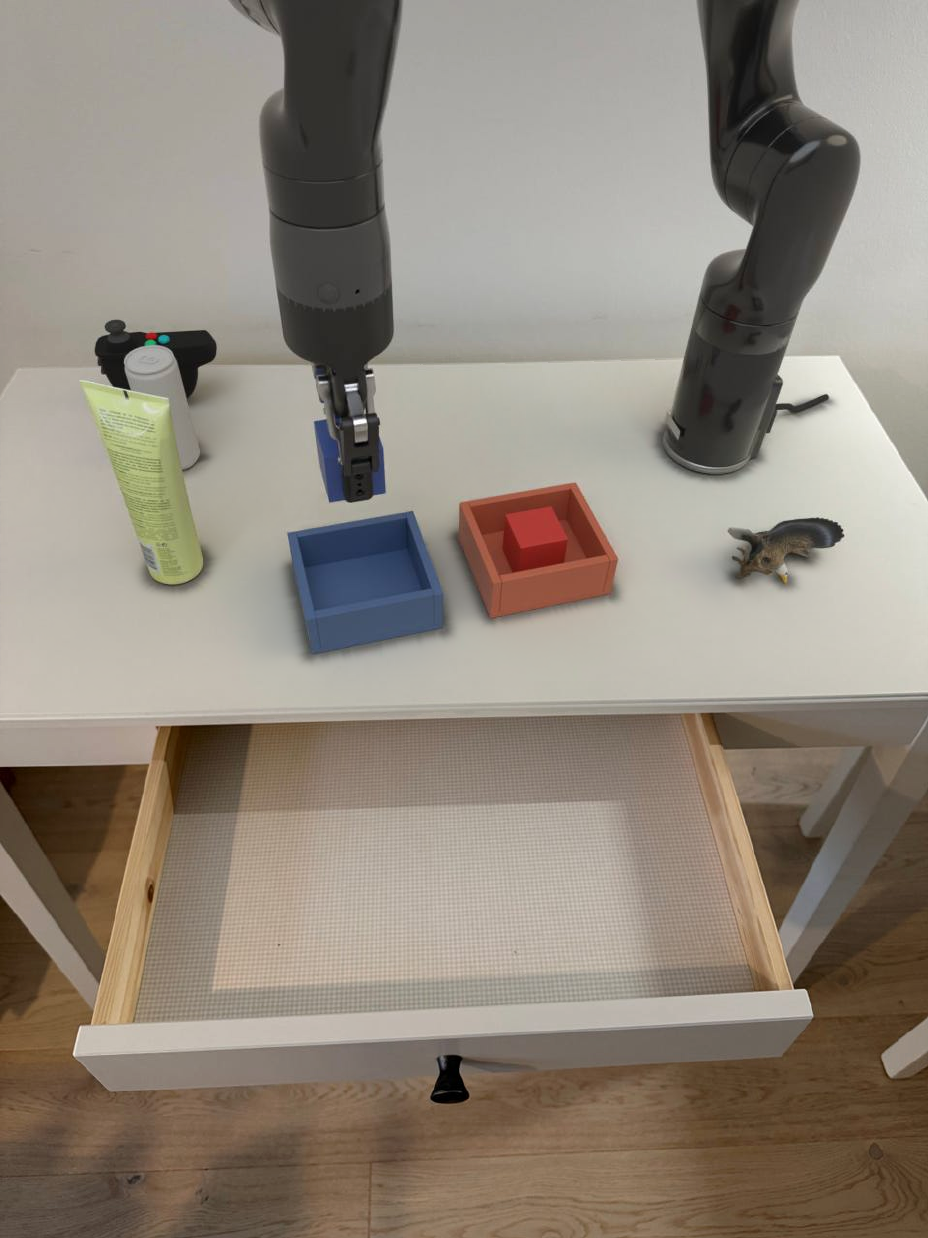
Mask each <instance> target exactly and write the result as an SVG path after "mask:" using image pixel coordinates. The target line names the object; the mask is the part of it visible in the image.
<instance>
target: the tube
mask: <svg viewBox="0 0 928 1238" xmlns="http://www.w3.org/2000/svg"><path fill="white" fill-rule="evenodd" d="M79 384H80V386H81V389H82V392H83V394H84V397H85V399H86V402H87V404H88V407H89V409H90V412H91V415H92V417H93V419H94V423H95V425H96V429H97V430H98V432H99V433H98V434H99V435H100V439H101V441H102V444H103V446H104V448H105V452H106V454H107V457H108V460H109V462H110V465H111V467H112V471H113V474H114V475H115V478H116V481H117V484H118V487H119V490H120V492H121V495H122V498H123V500H124V503H125V507H126V509H127V511H128V514H129V518H130V521H131V524H132V526H133V529H134V532H135V534H136V537H137V541H138V543H139V545H140V546H139V547H140V549H141V553H142V555H143V559H144V561H145V563H146V567H147V569H148V572H149V574H150V576H151V578H152V579H154V580H155V581H156V582H159V583H161V584H166V585H181V584H184V583H187V582H190V581H191V580H193V579H195V578H196V577H197V576H198V575H199V574H200V573H201V571H202V569H203V567H204V557H203V553H202V549H201V544H200V541H199V536H198V532H197V529H196V524H195V521H194V515H193V512H192V508H191V503H190V500H189V494H188V491H187V485H186V482H185V481H186V480H185V476H184V473H183V470H182V467H181V463H180V458H179V453H178V448H177V443H176V438H175V433H174V428H173V422H172V415H171V406H170V401H169V398H165V397H160V396H154V395H149V394H145V393H140V392H135V391H130V390H125V389H121V388H116V387H113V386H112V385H107V384H102V383H97V382H95V381H94V382H93V381H89V380H85V379H79Z"/></svg>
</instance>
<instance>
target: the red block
mask: <svg viewBox="0 0 928 1238" xmlns="http://www.w3.org/2000/svg"><path fill="white" fill-rule="evenodd" d="M567 542H568V538H567V536H566V534H565V532H564V530H563V528H562V526H561V524H560V522H559V521H558V519H557V517H556V515H555V513H554V511H553V509H552V507H551V506H550V507H544V508H539V509H533V510H528V511H522V512H517V513H511V514H506V515H505V524H504V536H503V551H504V554H505V556H506V558H507V561H508V563H509V565H510V567H511V570H512V572H513V573H515V572H520V571H525V570H530V569H535V568H540V567H546V566H551V565H556V564H561V563H564V561H565V555H566V549H567Z"/></svg>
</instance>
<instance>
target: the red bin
mask: <svg viewBox="0 0 928 1238" xmlns="http://www.w3.org/2000/svg"><path fill="white" fill-rule="evenodd" d="M550 506H551V507H552V509H553V511H554V513H555V515H556V517H557V519H558V521H559V522H560V524H561V526H562V528H563V530H564V532H565V534H566V536H567V538H568V542H567V549H566V555H565V561H564V563H561V564H556V565H551V566H546V567H540V568H535V569H530V570H525V571H520V572H515V573H513V572H512V570H511V567H510V565H509V563H508V561H507V558H506V556H505V554H504V551H503V536H504V524H505V515H506V514H511V513H517V512H522V511H528V510H533V509H539V508H544V507H550ZM457 536H458V540H459V543H460V545H461V548H462V550H463V554H464V555H465V559H466V560H467V563H468V566H469V568H470V570H471V573H472V575H473V578H474V580H475V584H476V586H477V588H478V591H479V593H480V595H481V598H482V601H483V603H484V605H485V608H486V611H487V613H488V615H489V618H490V619H492V618H497V617H502V616H503V617H504V616H508V615H513V614H518V613H522V612H527V611H531V610H536V609H541V608H547V607H552V606H556V605H562V604H566V603H571V602H575V601H576V602H577V601H582V600H586V599H591V598H596V597H600V596H606V595H610V594H611V593H612V588H613V584H614V580H615V574H616V570H617V568H618V567H617V566H618V562H619V557H618V556H617V553H615V551H614V548H613V547H612V545H611V543H610V541H609V540H608V538H607V536H606V534H605V532H604V531H603V528H602V527H601V525H600V523H599V522H598V519H597V518H596V516H595V514H594V512H593V511H592V509H591V507H590V505H589V503H588V502H587V499H586V498H585V495H584V494H583V493H582V491H581V489H580V487H579V485H578V483H577V482H576V481H575V482H569V483H563V484H558V485H552V486H547V487H540V488H535V489H528V490H522V491H518V492H517V491H516V492H511V493H505V494H500V495H494V496H487V497H483V498H476V499H471V500H467V501H462V502H459V505H458V535H457Z"/></svg>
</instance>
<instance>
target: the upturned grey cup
mask: <svg viewBox="0 0 928 1238" xmlns="http://www.w3.org/2000/svg"><path fill="white" fill-rule="evenodd" d="M124 364H125V373H126V376H127V379H128V382H129V385H130V388H131V391H135V392H140V393H145V394H149V395H154V396H160V397H165V398H169V401H170V406H171V415H172V422H173V428H174V433H175V438H176V443H177V448H178V453H179V458H180V463H181V467H182V471H184V470H187V469H189V468H191V467H192V466H193V465H195V464H196V463H197V461H198V459H199V458H200V455H201V449H200V445H199V441H198V437H197V433H196V430H195V426H194V425H195V424H194V421H193V418H192V413H191V410H190V406H189V402H188V399H187V398H186V394H185V391H184V387H183V383H182V379H181V375H180V371H179V368H178V364H177V361H176V359H175V357H174V355H173V353H172V351H171V350H170V349H168V348H166V347H163V346H158V345H149V346H143V347H139V348H137V349H134V350H133V351H131V352H130V353H128V354H127V355H126V357H125V359H124Z"/></svg>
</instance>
